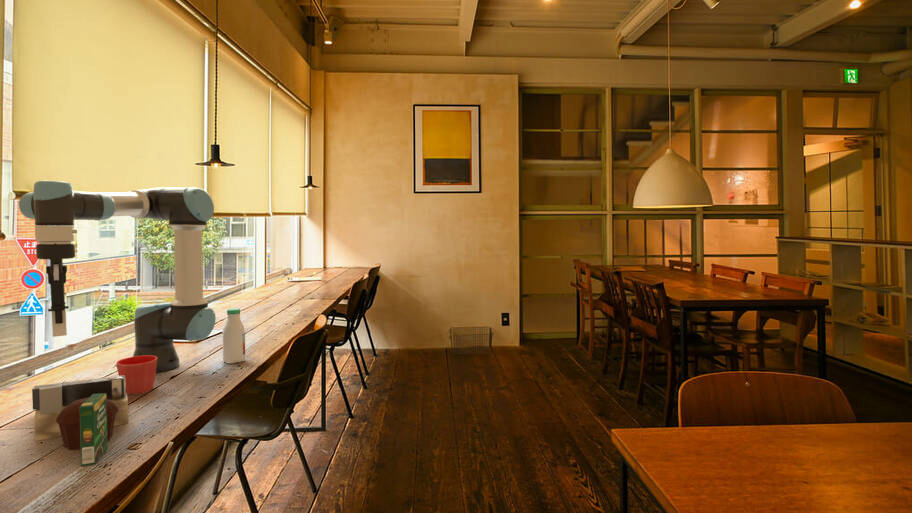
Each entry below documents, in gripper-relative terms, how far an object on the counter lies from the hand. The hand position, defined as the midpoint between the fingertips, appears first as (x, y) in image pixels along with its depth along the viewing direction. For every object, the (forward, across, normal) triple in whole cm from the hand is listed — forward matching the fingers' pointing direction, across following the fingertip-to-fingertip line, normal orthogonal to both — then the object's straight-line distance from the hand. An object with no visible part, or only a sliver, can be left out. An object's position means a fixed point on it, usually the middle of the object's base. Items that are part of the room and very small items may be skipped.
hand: (59, 335), depth 122 cm
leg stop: (+16, -10, +2) cm, 19 cm away
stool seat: (+23, +1, -4) cm, 23 cm away
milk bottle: (+24, +36, -50) cm, 66 cm away
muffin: (+23, -18, -5) cm, 30 cm away
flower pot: (+23, +18, -17) cm, 34 cm away
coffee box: (+23, -29, -6) cm, 37 cm away
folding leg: (+16, -6, -4) cm, 18 cm away
